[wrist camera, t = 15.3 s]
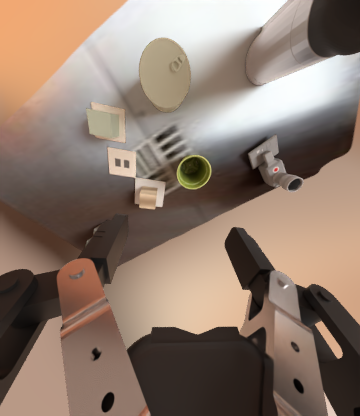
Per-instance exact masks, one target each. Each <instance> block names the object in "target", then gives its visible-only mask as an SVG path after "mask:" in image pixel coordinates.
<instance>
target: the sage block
mask: <svg viewBox="0 0 360 416" xmlns="http://www.w3.org/2000/svg"><path fill="white" fill-rule="evenodd" d="M86 111H87V119H88V126H89V133H90V134H92V135H97V136H103V137H108V138H115V137H119V136H120V135H119V115H116V114H112V113H107V112H103V111H98V110H92V109H87V108H86Z"/></svg>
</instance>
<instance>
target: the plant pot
mask: <svg viewBox="0 0 360 416" xmlns="http://www.w3.org/2000/svg"><path fill="white" fill-rule="evenodd" d="M196 161H197V163H198V164H197V163H196ZM182 165H183V167H184V169H183V167H182ZM189 165H191V166H189ZM190 171H193V172H190ZM210 176H211V166H210V164H209V162H208V161H207V160H206V159H205V158H204V157H202V156H199V155H188V156H185V157H184V158H183V159H182V161H181V163H180V164H179V166H178V168H177V178H178V181H179V183H180V184H181V185H182V186H183V187H185V188H188V189H197V188H200V187H202V186H203V185H205V184H206V183H207V181H208V180H209V178H210Z"/></svg>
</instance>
